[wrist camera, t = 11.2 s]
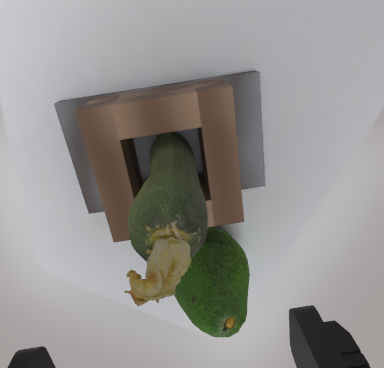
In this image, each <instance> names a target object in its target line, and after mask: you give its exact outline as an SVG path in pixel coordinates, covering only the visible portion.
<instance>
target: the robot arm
mask: <svg viewBox="0 0 384 368" xmlns="http://www.w3.org/2000/svg"><path fill="white" fill-rule="evenodd" d="M289 326H290V346H291V351H292V355H293V358H294V361H295V364H296V366H297V368H370V366H369V363H368V362H367V360H366V358H365V357H364V355H363V354H362V353H361V351H360V349H359V347H358V345H357V344H356V342H355V341H354V339H353V338H352V336H351V334H350V333H349V332H348V331H347V330H345V329H344V328H343V327H342V326H341V325H340V324H338V323H337V322H336V321H329V322H323V320H322V319H321V317H320V315H319V313H318V311H317V310H316V308H315V307H314V306H313V305H311V306H305V307H298V308H292V309H290V310H289ZM8 368H55V365H54V364H53V361H52V359H51V357H50V356H49V353H48V351H47V349H46V348H45V347H36V348H30V349H23V350H19V351H17V352H16V353H15V355H14V356H13V358H12V360H11V362H10V364H9V366H8Z"/></svg>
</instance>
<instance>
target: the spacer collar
mask: <svg viewBox="0 0 384 368" xmlns="http://www.w3.org/2000/svg"><path fill="white" fill-rule="evenodd" d="M54 105H55V108H56V112H57V115H58V118H59V121H60V124H61V127H62V130H63V134H64V137H65V140H66V143H67V146H68V149H69V152H70V156H71V159H72V162H73V165H74V168H75V171H76V174H77V178H78V181H79V184H80V187H81V190H82V193H83V196H84V200H85V203H86V206H87V209H88V212H89V214H90V213H97V212H103V211H105V214H106V217H107V221H108V224H109V227H110V231H111V234H112V238H113V241H114V242H119V241H126V240H131V239H130V235H129V229H128V214H129V211H130V207H131V205H132V203H133V201H134V199H135V198H136V196H137V195H138V193H139V191H140V190H141V188H142V186H143V184H144V183H145V181H146V180H147V179H148V178H149V175H150V155H151V153H150V149H151V146H152V144H153V142H154V141H155V139H156V138H157V136H158V135H160V134H161V133H168V132H176V133H178V134H180V135H181V136H182V137H184V138H185V139H186V140H187V141H188V142H189V144H190V146H191V148H192V150H193V153H194V157H195V164H196V170H197V174H198V178H199V183H200V186H201V188H202V191H203V194H204V198H205V202H206V205H207V212H208V227H214V226H220V225H226V224H233V223H239V222H244V216H243V204H242V193H241V190H242V189H248V188H255V187H261V186H265V174H264V154H263V134H262V114H261V94H260V74H259V72H258V71H249V72H243V73H237V74H230V75H224V76H217V77H211V78H205V79H198V80H192V81H185V82H179V83H173V84H166V85H160V86H153V87H147V88H141V89H134V90H128V91H121V92H115V93H109V94H102V95H96V96H89V97H83V98H77V99H70V100H64V101H59V102H57V103H55V104H54Z"/></svg>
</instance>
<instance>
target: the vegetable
mask: <svg viewBox="0 0 384 368" xmlns="http://www.w3.org/2000/svg"><path fill="white" fill-rule="evenodd" d="M150 153H151V155H150V175H149V178H148V179H147V180H146V181H145V183H144V184H143V186H142V188H141V190H140V191H139V193H138V195H137V196H136V198H135V199H134V201H133V203H132V205H131V207H130V211H129V214H128V229H129V235H130V239H131V243H132V246H133V248H134V249H135V250H136V252H137V253H138V254H139V255H140V256H141V257H142V258H143V259H144V260H145V261H147V270H146V279H142V280H141V275H139V274H137V273H136V271H133V270H131V271H129V272H128V273H127V277H130V279H129V281H130V285H131V289H132V290H130V291H125V293H130V294H131V296H132V298H133V300H134V302H135V303H136V304H137V305H138V306H140V305H142V304H144V303H146V302H148V301H149V300H156V302H157V303H158V302H159V299H161V298H164V297H167V296H168V297H169V296H172V295H174V294H175V287H176V286H177V285H178V283H179V282H180V281H181V276H183V275H184V274H185V272H186V271H188V268H189V267H190V264H191V259H192V258H193V257H194V256H195V255H196V253H197V252H198V251H199V249H200V248H201V246H202V245H203V244H204V242H205V239H206V237H207V230H208V212H207V205H206V202H205V198H204V194H203V191H202V188H201V186H200V183H199V178H198V174H197V170H196V164H195V157H194V153H193V150H192V148H191V146H190V144H189V142H188V141H187V140H186V139H185V138H184V137H182V136H181V135H180V134H178V133H176V132H168V133H161V134H160V135H158V136H157V138H156V139H155V141H154V142H153V144H152V146H151V149H150Z"/></svg>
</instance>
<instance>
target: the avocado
mask: <svg viewBox="0 0 384 368" xmlns="http://www.w3.org/2000/svg"><path fill="white" fill-rule="evenodd" d="M249 275H250V274H249V267H248V261H247V258H246V255H245V252H244V251H243V249H242V248H241V246H240V245H239V244H238V243H237V242H236V241H235V240H234V239H233V238H232V237H231V236H230V235H229V234H227V233H226V232H224V231H222V230H219V229H217V228H208V230H207V237H206V239H205V242H204V244H203V245H202V246H201V248H200V249H199V251H198V252H197V253H196V255H195V256H194V257H193V258H192V259H191V264H190V267H189V268H188V271H186V272H185V274H184V275H183V276H181V281H180V282H179V283H178V285H177V286H176V287H175V294H174V295H175V297H176V299H177V301H178V303H179V305H180V306H181V307H182V309H183V310H184V312H185V313H186V315H187V316H188V317H189V319H190V320H191V322H192V323H193V324H194V325H195V326H197V327H198V328H199V329H200V330H201V331H203V332H205V333H207V334H209V335H211V336H213V337H230V336H232V335H233V334H235V333H237V332H238V331H239V329H240V328H241V326H242V324H243V323H244V322H245V320H246V315H247V297H248V285H249Z"/></svg>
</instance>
